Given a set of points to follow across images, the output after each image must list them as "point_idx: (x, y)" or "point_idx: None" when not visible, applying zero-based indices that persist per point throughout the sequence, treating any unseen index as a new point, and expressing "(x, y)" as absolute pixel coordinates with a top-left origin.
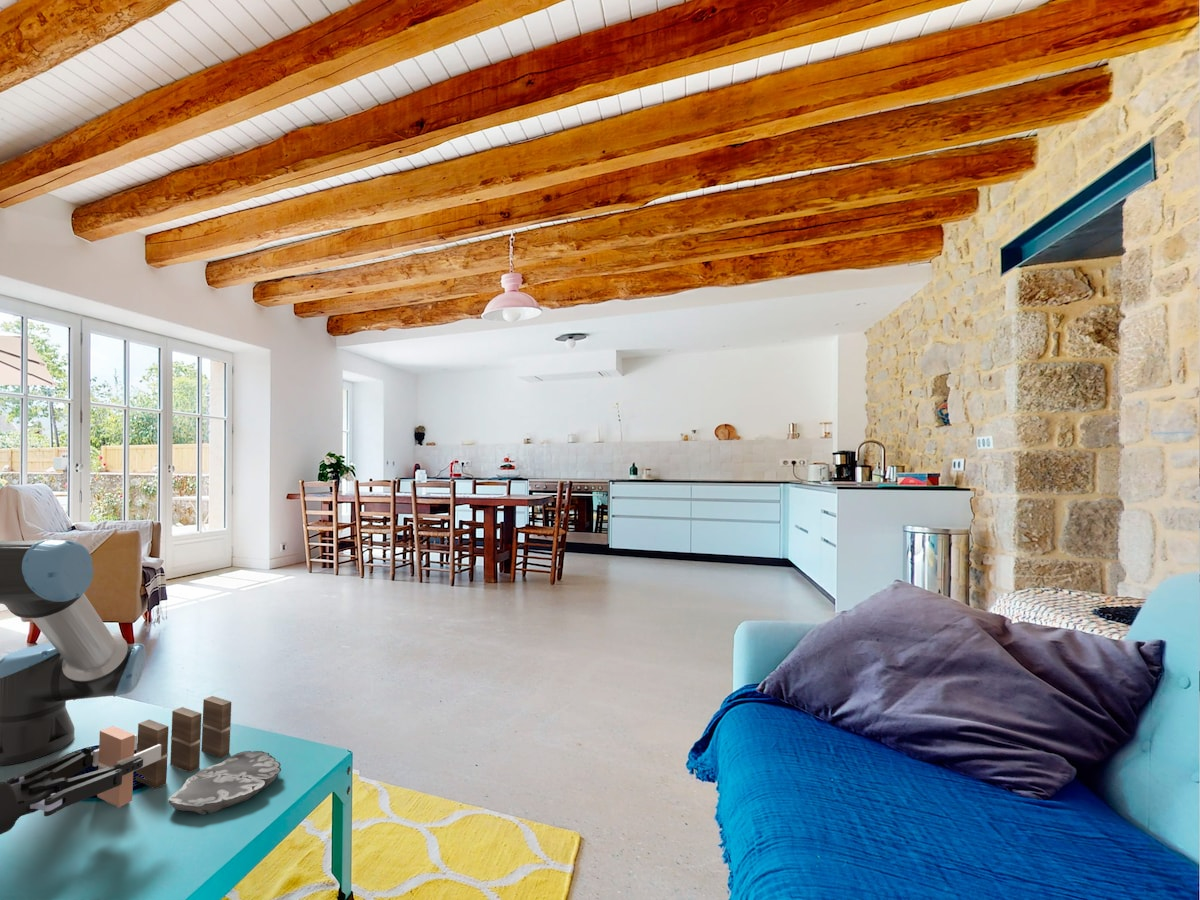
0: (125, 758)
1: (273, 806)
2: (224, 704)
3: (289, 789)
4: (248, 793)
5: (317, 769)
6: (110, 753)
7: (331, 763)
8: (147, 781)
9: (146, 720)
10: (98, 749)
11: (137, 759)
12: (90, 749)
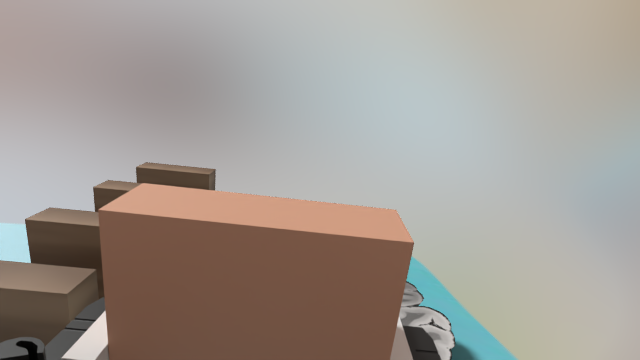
0: (392, 352)
1: (486, 351)
2: (210, 173)
3: (443, 312)
4: (454, 340)
5: (414, 272)
6: (261, 347)
7: (414, 261)
8: None
9: (45, 210)
10: (92, 338)
11: (410, 338)
12: (44, 355)
